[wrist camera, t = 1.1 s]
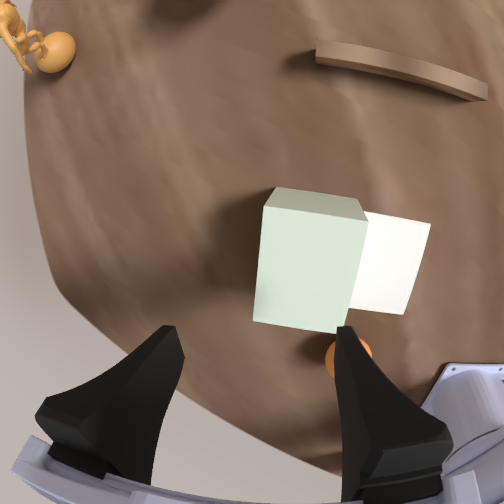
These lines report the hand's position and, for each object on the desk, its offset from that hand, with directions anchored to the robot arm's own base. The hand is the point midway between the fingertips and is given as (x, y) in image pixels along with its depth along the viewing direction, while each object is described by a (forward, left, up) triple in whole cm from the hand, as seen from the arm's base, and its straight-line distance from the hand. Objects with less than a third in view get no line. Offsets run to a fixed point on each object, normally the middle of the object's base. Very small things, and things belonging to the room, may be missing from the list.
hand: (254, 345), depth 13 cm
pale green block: (-2, -1, -11) cm, 12 cm away
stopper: (-7, -14, -11) cm, 20 cm away
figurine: (+20, -17, -12) cm, 29 cm away
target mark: (-7, 0, -11) cm, 13 cm away
